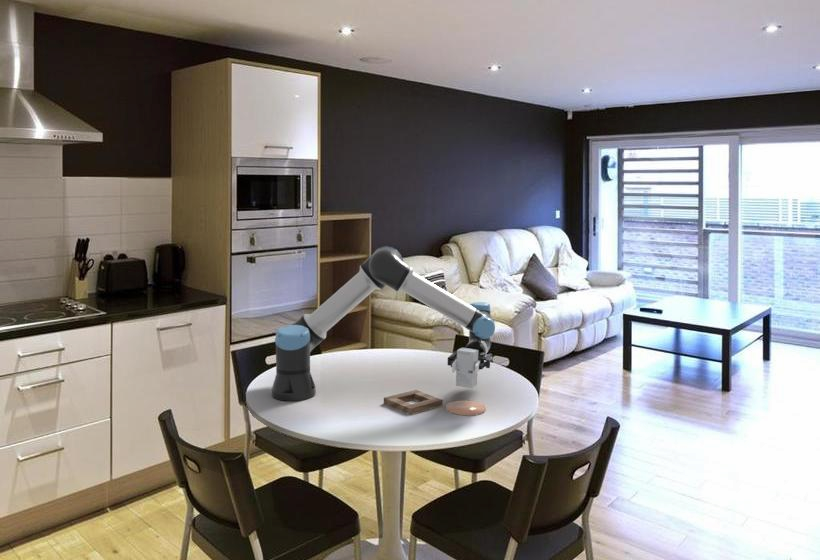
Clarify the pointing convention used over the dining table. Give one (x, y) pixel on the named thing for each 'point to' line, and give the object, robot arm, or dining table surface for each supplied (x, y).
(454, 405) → the coaster
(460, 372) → the skincare box
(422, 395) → the socket block
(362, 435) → the dining table surface
